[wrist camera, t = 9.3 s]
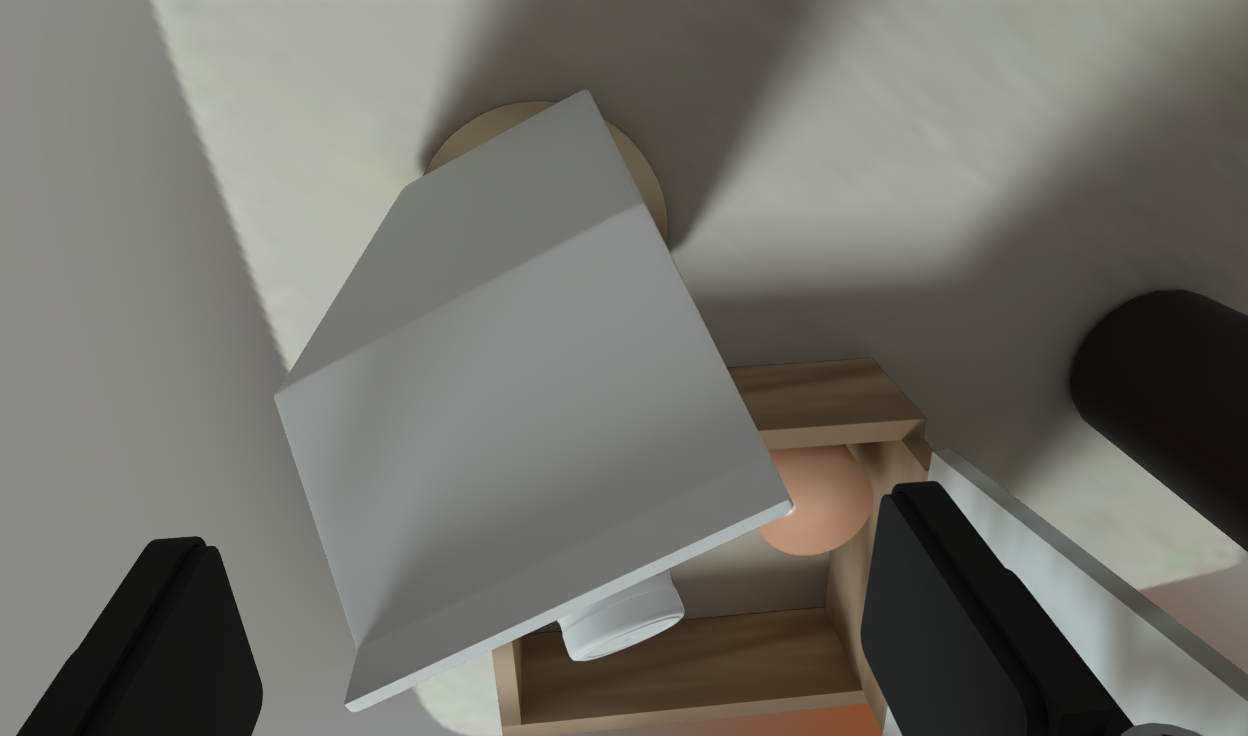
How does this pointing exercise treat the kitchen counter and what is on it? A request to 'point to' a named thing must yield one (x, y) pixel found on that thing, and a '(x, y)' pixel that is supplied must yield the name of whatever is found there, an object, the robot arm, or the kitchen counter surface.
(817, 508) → the tan rounded ovoid
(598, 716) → the box
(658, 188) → the coaster
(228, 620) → the robot arm
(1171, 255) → the kitchen counter surface
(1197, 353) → the bottle
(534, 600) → the milk carton
